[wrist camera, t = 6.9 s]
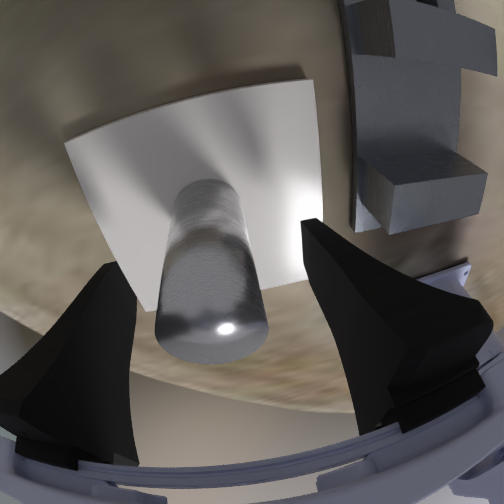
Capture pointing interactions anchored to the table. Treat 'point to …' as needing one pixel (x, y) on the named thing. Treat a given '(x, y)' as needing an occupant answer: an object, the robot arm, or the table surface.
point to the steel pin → (209, 279)
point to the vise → (411, 111)
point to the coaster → (206, 175)
